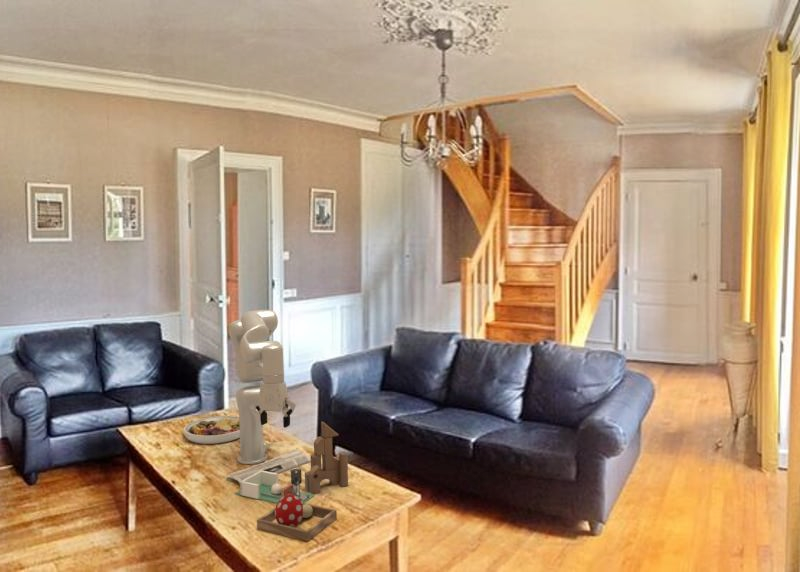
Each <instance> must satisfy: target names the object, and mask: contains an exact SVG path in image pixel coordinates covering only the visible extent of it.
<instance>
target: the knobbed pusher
mask: <svg viewBox="0 0 800 572" xmlns="http://www.w3.org/2000/svg"><path fill="white" fill-rule="evenodd" d="M302 482H303V478H302V469H300V468H293V469H290V484H288V485H286V486H285V487H282V488H283V489H282V490H281V496H282V497H283V496H285V495H288V494H292V495H295V496H297V497H298V498H299V499H300V500H301V501H304V500H305V499H307V495H304V494H300V492H301V484H302Z"/></svg>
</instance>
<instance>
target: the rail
mask: <svg viewBox="0 0 800 572" xmlns="http://www.w3.org/2000/svg"><path fill="white" fill-rule="evenodd" d="M269 490H271V487H270V488H269ZM300 494H302V493H300ZM261 495H262V496H267V497H271V498H276V499H281V498H282V496H278V495H274V494H269V493H265V492H262V493H261ZM304 495H307V494H304ZM307 498H311V495H307ZM311 499H312V498H311ZM301 502H302V503H303V501H301Z"/></svg>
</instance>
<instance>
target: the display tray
mask: <svg viewBox="0 0 800 572" xmlns="http://www.w3.org/2000/svg"><path fill="white" fill-rule="evenodd" d="M301 503H302V502H301ZM305 504H308V505H310V506H311V507H312V509H313V513H312V515H313V516H317V517H320V518H321V519H320V520H318V521H317V522H316V523H315V524H313V525H312V526H310V528H308V529H302V528H299V527H295V528H294V527H290V526H286V525H282V524H278V522H274V520H276V518H275V508H276V507H275V508H273V509H271V510H270V511H269V512H267V513H265V514H264V515H262V516H261V517H259V518H258V519H256V528H257V530H261V531H264V532H268V533H272V534H275V535H276V534H277V535H280V536H283V537H288V538H291V539H296V540H300V541H303V542H309V541H311V540H312V539H313V538H315V537H316V536H317V535H318V534H319V533H321V532H322V531H324V529H326V528H327V527H328V526H329V525H331V524H332V523H333V522H334V521H335V520H337V509H332V508H327V507H323V506H319V505H314V504H310V503H306V502H305V503H302V505H305ZM312 515H311V516H312Z"/></svg>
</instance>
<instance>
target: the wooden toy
mask: <svg viewBox="0 0 800 572" xmlns="http://www.w3.org/2000/svg"><path fill="white" fill-rule="evenodd" d="M320 425H321V426H320V428H321V436H317V437H316V438H315V440H314V441H313V453H314V454H313V453H312V454H310V459H311V462H310V469H309V471H305V472H304V489H305V490H306V491H307V492H309V494H313V495H316V494H319V493H321V482H322V481H324V480H328V481H329V484H330V485H332V486H336V485H339V486H340V487H347V486H349V463H348V462H349V461H348V452H347V451H340V452H338V457H335V456H334V455H333V437H338V436H339V433H338V432H336V431H335V430H334V429H332V428H331V427H330V426H329V425H328V424H327V423H325V422H324V421H321V422H320Z"/></svg>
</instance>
